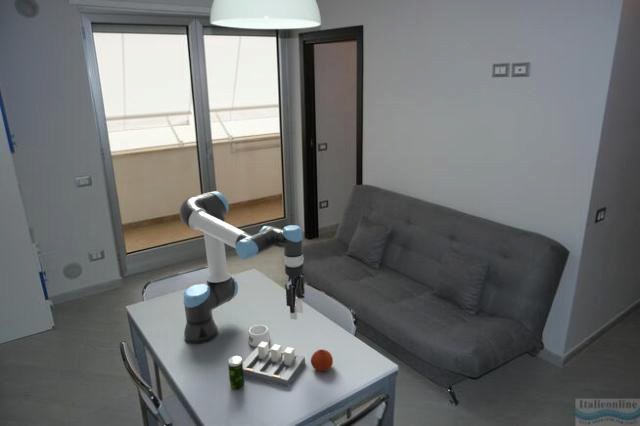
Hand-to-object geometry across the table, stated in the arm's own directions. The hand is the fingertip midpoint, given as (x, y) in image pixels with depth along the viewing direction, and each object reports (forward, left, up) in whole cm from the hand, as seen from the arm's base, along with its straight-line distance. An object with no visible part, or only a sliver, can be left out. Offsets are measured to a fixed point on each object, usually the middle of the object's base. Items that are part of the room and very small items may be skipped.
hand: (296, 315), depth 188 cm
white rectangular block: (-12, -8, -17) cm, 23 cm away
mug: (-22, +4, -19) cm, 29 cm away
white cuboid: (-6, -9, -17) cm, 20 cm away
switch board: (-6, -12, -19) cm, 23 cm away
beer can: (-13, -27, -19) cm, 36 cm away
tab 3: (0, -9, -17) cm, 19 cm away
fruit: (+13, -6, -19) cm, 24 cm away
